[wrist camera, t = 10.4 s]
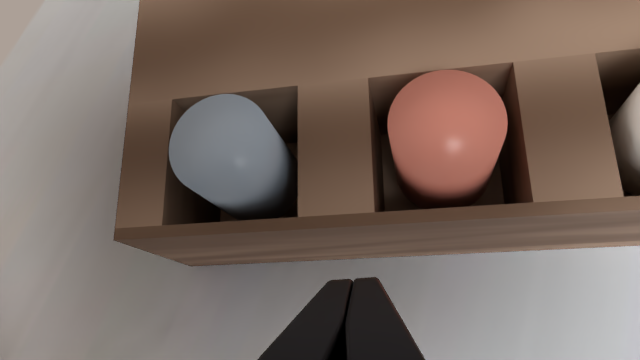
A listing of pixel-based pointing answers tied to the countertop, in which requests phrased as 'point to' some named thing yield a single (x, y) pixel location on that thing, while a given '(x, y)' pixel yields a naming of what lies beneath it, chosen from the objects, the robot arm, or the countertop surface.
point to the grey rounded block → (234, 158)
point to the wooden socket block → (383, 124)
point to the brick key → (446, 138)
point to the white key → (628, 142)
